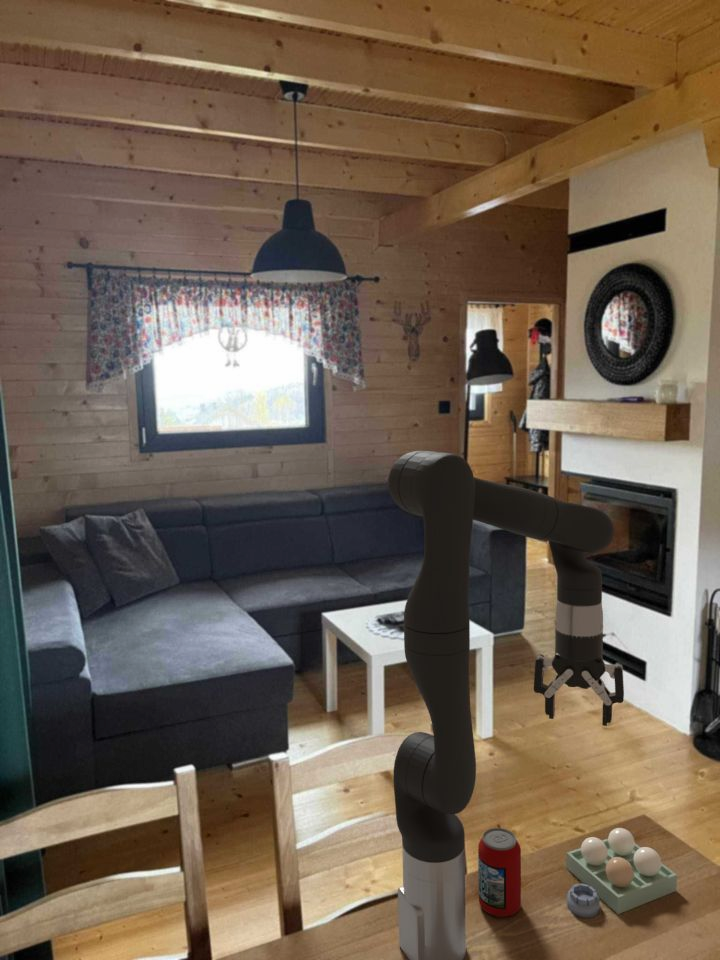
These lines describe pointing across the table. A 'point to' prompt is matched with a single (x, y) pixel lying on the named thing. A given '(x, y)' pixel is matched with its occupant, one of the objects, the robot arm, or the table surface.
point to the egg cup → (583, 901)
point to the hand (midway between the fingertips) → (577, 720)
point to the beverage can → (499, 872)
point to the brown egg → (619, 872)
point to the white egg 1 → (594, 851)
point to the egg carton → (621, 897)
